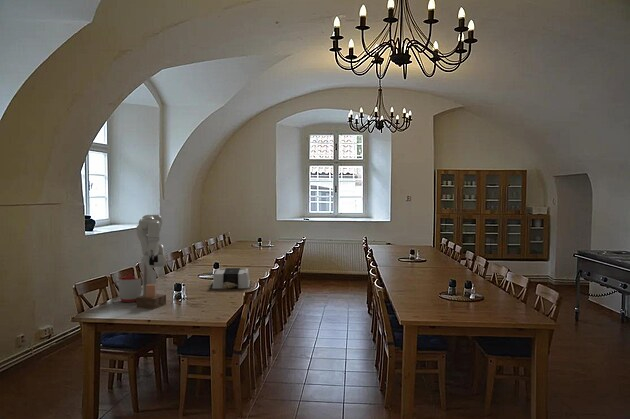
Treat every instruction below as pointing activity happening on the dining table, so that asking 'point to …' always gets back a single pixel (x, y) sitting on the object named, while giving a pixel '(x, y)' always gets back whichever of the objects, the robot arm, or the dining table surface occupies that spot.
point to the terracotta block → (150, 290)
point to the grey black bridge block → (231, 279)
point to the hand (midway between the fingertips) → (153, 263)
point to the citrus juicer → (129, 288)
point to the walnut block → (151, 301)
